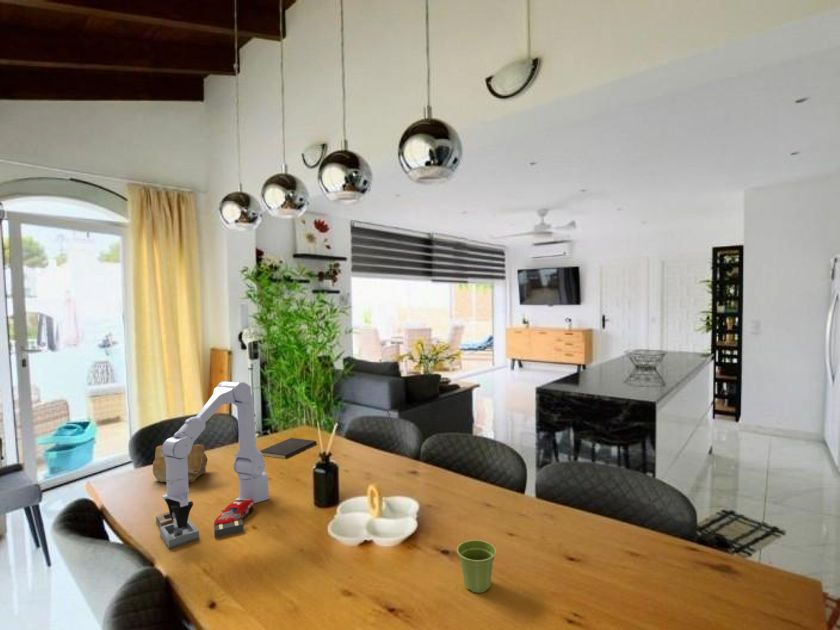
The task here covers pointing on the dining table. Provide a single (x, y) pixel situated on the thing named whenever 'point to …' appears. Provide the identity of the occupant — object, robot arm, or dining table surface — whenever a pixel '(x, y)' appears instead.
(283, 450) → the hardcover book
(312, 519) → the dining table surface
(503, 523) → the dining table surface
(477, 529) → the dining table surface
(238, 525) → the wheel stop
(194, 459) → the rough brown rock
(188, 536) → the tray
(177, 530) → the pin
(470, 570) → the plant pot
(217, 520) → the race car
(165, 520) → the pin holder
